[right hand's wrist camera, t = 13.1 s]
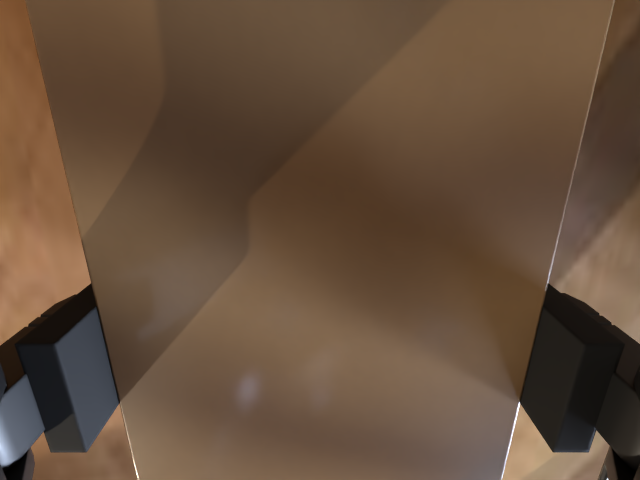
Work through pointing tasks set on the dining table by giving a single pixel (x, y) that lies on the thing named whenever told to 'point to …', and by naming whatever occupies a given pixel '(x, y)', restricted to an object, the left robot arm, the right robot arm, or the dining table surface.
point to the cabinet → (319, 221)
